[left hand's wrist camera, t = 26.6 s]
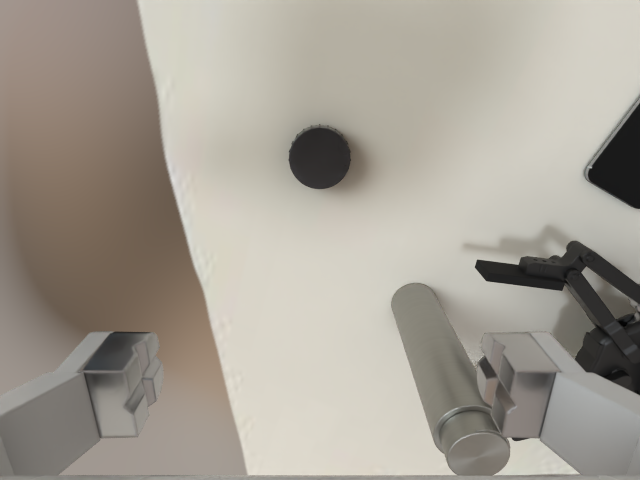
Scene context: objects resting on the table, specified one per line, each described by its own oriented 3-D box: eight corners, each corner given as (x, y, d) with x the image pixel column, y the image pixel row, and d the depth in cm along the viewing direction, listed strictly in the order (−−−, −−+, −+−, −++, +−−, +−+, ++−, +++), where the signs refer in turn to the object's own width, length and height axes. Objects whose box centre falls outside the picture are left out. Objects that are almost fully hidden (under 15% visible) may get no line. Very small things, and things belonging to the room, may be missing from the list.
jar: (435, 321, 44) (512, 482, 26) (391, 323, 44) (439, 485, 27) (437, 281, 42) (521, 425, 25) (391, 284, 43) (442, 429, 25)
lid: (289, 124, 37) (287, 126, 35) (350, 124, 37) (352, 126, 35) (290, 184, 39) (289, 189, 37) (348, 184, 39) (350, 189, 37)
